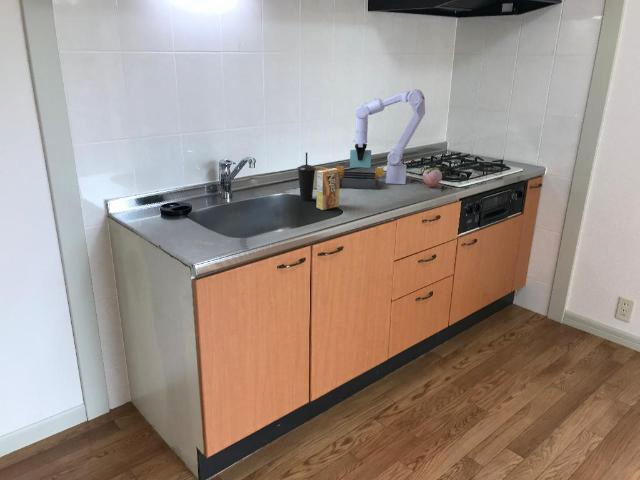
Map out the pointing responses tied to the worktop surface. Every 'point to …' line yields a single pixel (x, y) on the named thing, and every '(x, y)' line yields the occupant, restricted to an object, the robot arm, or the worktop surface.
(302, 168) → the drinking cup
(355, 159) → the block
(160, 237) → the worktop surface
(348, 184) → the rack
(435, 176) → the decorative fruit
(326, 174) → the candy box
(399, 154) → the robot arm
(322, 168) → the flower pot
